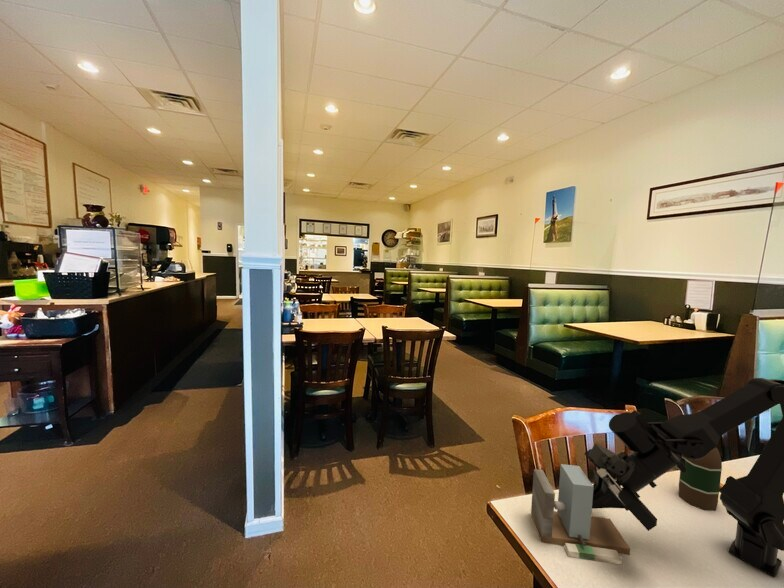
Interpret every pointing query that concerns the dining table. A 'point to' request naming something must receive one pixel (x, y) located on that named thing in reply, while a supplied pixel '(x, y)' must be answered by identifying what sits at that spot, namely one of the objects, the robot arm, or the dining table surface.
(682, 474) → the beer bottle
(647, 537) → the dining table surface
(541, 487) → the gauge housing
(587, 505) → the gauge carriage
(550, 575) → the dining table surface
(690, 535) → the dining table surface
